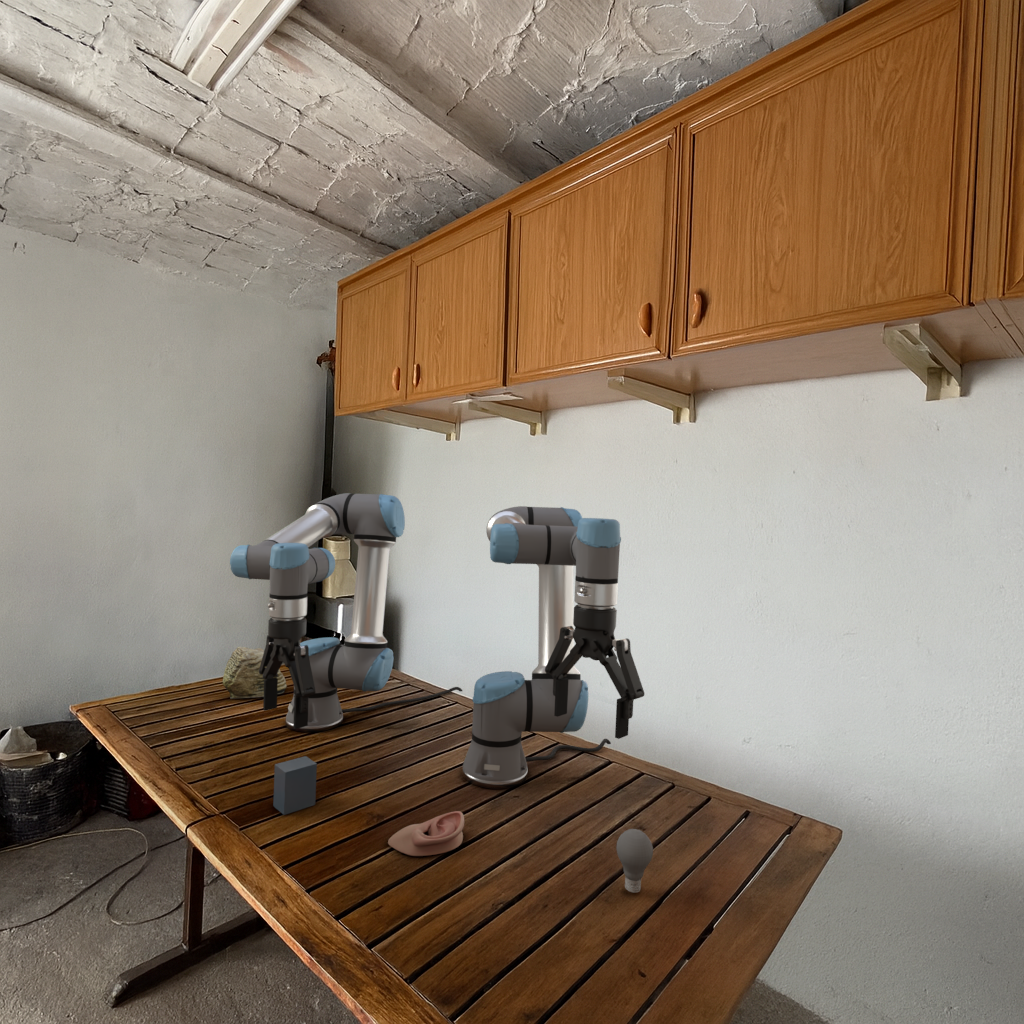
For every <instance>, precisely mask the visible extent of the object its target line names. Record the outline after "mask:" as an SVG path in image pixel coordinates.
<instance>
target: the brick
mask: <svg viewBox="0 0 1024 1024" xmlns="http://www.w3.org/2000/svg"><path fill="white" fill-rule="evenodd" d="M317 771H318V763H317V762H316V761H314V760H312V758H311V759H310V757H308V756H306V755H304V756H301V757H297V758H294V759H289V760H286V761H282V762H278V763H274V774H273V775H274V776H273V802H272V803H273V804H272V806H273V807H274V808H275V809H276V810H277V811H278V812H279V813H281V814H282V815H283V816H286V815H289V814H292V813H295V812H298V811H300V810H305V809H307V808H310V807H313V806H315V805H316V796H317Z"/></svg>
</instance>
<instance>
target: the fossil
mask: <svg viewBox="0 0 1024 1024" xmlns="http://www.w3.org/2000/svg"><path fill="white" fill-rule="evenodd" d="M264 650H265V649H263V648H260V647H258V648H251V647H247V646H246V647H245V646H238V647H237V648H236V649H235V650H233V651H232V653H231V656H230V657H229V659H228V660H227V663H226V666H225V668H224V671H223V675H222V676H223V677H222V685H223V687H224V688H225V690H226V691H228V693H229V698H230V699H250V698H264V680H265V679H263V674H259V668H260V665H261V661H262V657H263V654H264ZM266 667H267V666H266ZM266 667H265V668H266ZM277 673H278V675H277V676H278V677H273V678H278V686H277V695H281V694H284V693H285V691H286V689H287V687H288V686H287V680H286V678H285V676H284V674H283V673H282V672H281V669H279V670H278V672H277Z"/></svg>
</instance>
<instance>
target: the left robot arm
mask: <svg viewBox="0 0 1024 1024" xmlns="http://www.w3.org/2000/svg"><path fill="white" fill-rule="evenodd" d="M404 511H405V510H404V506H403V504H402V502H401V500H400V499H399V498H398V497H397V496H395V495H389V494H383V493H380V494H379V493H354V492H353V493H352V492H346V493H345V492H344V493H340V494H336V495H332V496H330V497H326V498H324V499H323V500H320V501H318V502H316V503H314V504H313V505H311V506H310V507H308V508H307V510H306V512H305V514H304V515H302V516H300V517H298V518H297V519H296V520H294V521H292V522H291V523H289V524H288V525H286V526H285V527H283V528H281V529H280V530H278V531H276V532H275V533H273V534H272V535H270V536H268V537H267V538H265V539H263V540H262V541H260V542H258V543H257V544H254V545H253V544H240V545H238V546H236V547H235V548H234V549H233V551H232V552H231V555H230V558H229V566H230V570H231V573H232V574H233V575H234V576H235V577H236V578H242V579H248V580H265V581H269V599H268V602H269V603H267V608H268V616H269V617H270V618H269V619H268V621H267V623H268V625H267V635H266V640H265V641H266V642H265V647H264V649H263V650H264V654H263V657H262V661H261V665H260V668H259V674H263V679H265V680H264V697H263V704H262V706H263V709H262V710H263V711H264V712H266V711H270V710H275V709H277V708H278V694H277V686H278V678H273V677H278V676H277V675H278V673H277V672H278V670H281V667H282V665H283V664H284V666H285V667H286V668H287V669H288V671H289V675H290V678H291V681H292V683H293V695H292V696H293V697H292V699H291V702H289V703H288V707H287V710H288V711H287V713H286V715H285V726H286V728H287V729H289V730H291V731H294V732H295V731H296V732H301V733H316V732H325V731H329V730H332V729H335V728H337V727H339V726H340V725H342V723H343V722H344V713H354V712H355V713H356V712H367V711H373V710H376V709H380V708H382V707H387V706H393V705H401V704H409V703H415V702H420V701H424V700H430V699H433V698H437V697H439V696H442V695H447V694H450V693H451V692H453V691H458V692H463V689H462V688H461V687H459V686H453V687H451V688H449V689H446V690H443V691H439V692H436V693H433V694H428V695H424V696H419V697H413V698H407V699H400V700H394V701H386V702H382V703H378V704H375V705H371V706H367V707H353V708H342V706H341V702H340V699H339V695H338V689H342V690H343V689H345V690H356V691H362V692H379V691H381V690H382V689H383V688H384V687H385V685H386V684H387V683H388V681H389V679H390V676H391V673H392V670H393V666H394V661H395V659H394V652H393V650H392V649H391V648H389V647H388V640H387V638H386V637H385V636H384V633H383V632H384V621H385V609H386V597H387V587H388V586H387V585H388V577H389V574H388V573H389V564H390V563H389V562H390V552H391V551H390V550H391V548H392V547H394V546H395V545H396V543H397V538H400V537H402V536H403V534H404V530H405V525H406V523H405V522H406V520H405V519H406V518H405V512H404ZM337 534H339V535H340V534H342V535H353V541H354V543H355V544H356V545H357V547H358V548H357V549H358V550H357V562H356V573H355V583H354V595H353V605H352V616H351V617H352V618H351V626H350V627H351V628H350V634H349V635H348V636H347V637H345V638H344V643H343V644H341V641H340V639H339V638H338V637H334V636H331V637H330V636H329V637H328V636H327V637H326V636H325V637H318V638H313V639H307V640H304V641H302V642H301V639H302V637H305V636H306V634H307V621H308V620H307V618H306V616H307V615H308V587H309V585H310V584H315V583H320V582H322V581H324V580H327V579H328V578H329V577H331V576H332V575H333V573H334V571H335V569H336V559H335V557H334V555H333V553H332V552H331V551H330V550H329V549H327V548H324V547H312V548H310V547H311V546H313V545H314V544H315V543H317V542H318V541H319V540H321V539H325V538H329V537H331V536H332V535H337ZM266 666H267V667H266ZM265 667H266V668H265Z"/></svg>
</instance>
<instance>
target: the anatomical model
mask: <svg viewBox="0 0 1024 1024" xmlns="http://www.w3.org/2000/svg"><path fill="white" fill-rule="evenodd" d="M464 827H465V816H464V813H463V812H462V811H460V810H454V811H451V812H446V813H443V814H440V815H438V816H435V817H433V818H431V819H428V820H426V821H424V822H421V823H414V824H410V825H407V826H405V827H403V828H401V829H399V830H397V832H395V833H394V834H392V835H391V837H390V838H388V840H387V841H388V842H387V844H388V845H389V846H390V847H391V848H393V849H394V850H396V851H398V852H400V853H402V854H405V855H407V856H411V857H423V856H432V855H433V856H434V855H439V854H444V853H448V852H451V851H453V850H456V848H459V846H461V845H462V843H463V839H464V835H463V834H464V833H463V830H464Z"/></svg>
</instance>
